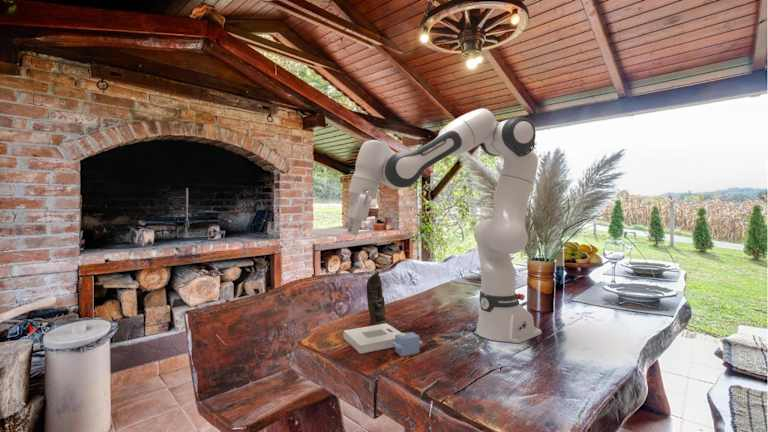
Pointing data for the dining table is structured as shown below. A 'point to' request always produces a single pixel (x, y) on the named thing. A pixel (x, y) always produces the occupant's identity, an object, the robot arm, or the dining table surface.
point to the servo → (407, 343)
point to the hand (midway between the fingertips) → (351, 233)
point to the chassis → (371, 337)
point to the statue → (376, 300)
